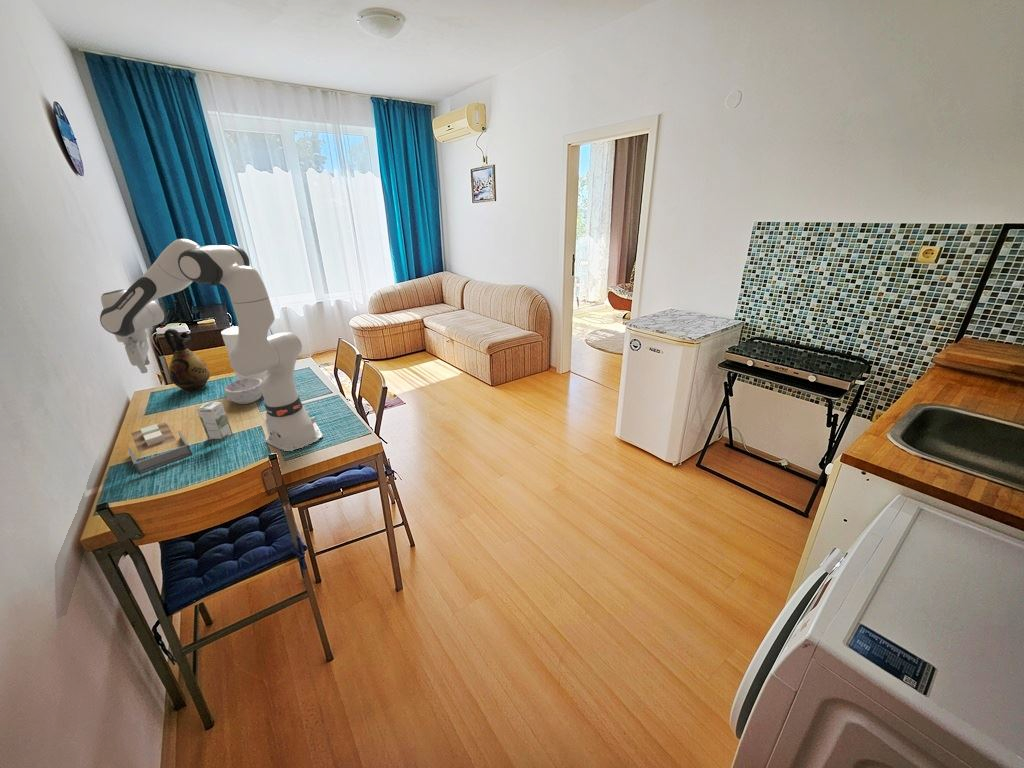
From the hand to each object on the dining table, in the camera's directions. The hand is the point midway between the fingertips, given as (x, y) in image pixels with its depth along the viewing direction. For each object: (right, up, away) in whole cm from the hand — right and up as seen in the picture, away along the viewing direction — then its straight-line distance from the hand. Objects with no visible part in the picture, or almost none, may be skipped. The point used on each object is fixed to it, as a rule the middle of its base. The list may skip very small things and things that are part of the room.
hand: (145, 368), depth 156 cm
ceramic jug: (-17, -8, +45) cm, 49 cm away
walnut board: (+2, -28, +2) cm, 28 cm away
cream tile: (+6, -28, -2) cm, 28 cm away
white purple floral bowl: (+19, -13, +32) cm, 39 cm away
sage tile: (0, -26, +3) cm, 26 cm away
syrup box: (+28, -27, +2) cm, 39 cm away
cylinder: (+13, -5, +49) cm, 51 cm away
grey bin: (+15, -32, -9) cm, 37 cm away
